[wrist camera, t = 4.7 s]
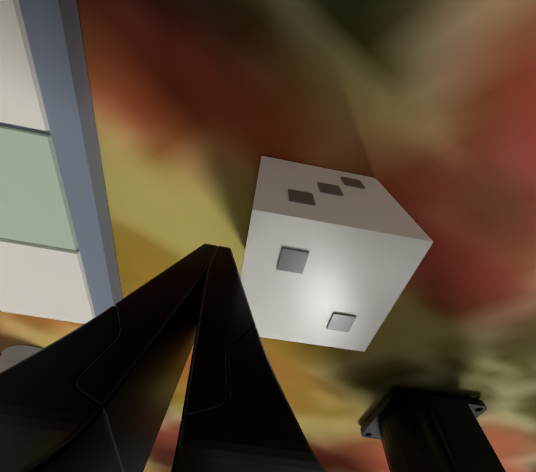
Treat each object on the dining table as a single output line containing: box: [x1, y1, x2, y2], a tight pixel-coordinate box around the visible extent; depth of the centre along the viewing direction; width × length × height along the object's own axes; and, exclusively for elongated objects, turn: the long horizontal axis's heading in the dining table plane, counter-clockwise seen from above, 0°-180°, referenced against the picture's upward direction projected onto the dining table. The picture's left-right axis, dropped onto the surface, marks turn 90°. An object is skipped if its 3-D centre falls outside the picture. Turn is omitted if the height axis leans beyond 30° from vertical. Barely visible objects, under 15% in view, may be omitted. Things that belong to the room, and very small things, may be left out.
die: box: [240, 156, 433, 352], centre depth 9 cm, size 5×4×5 cm
